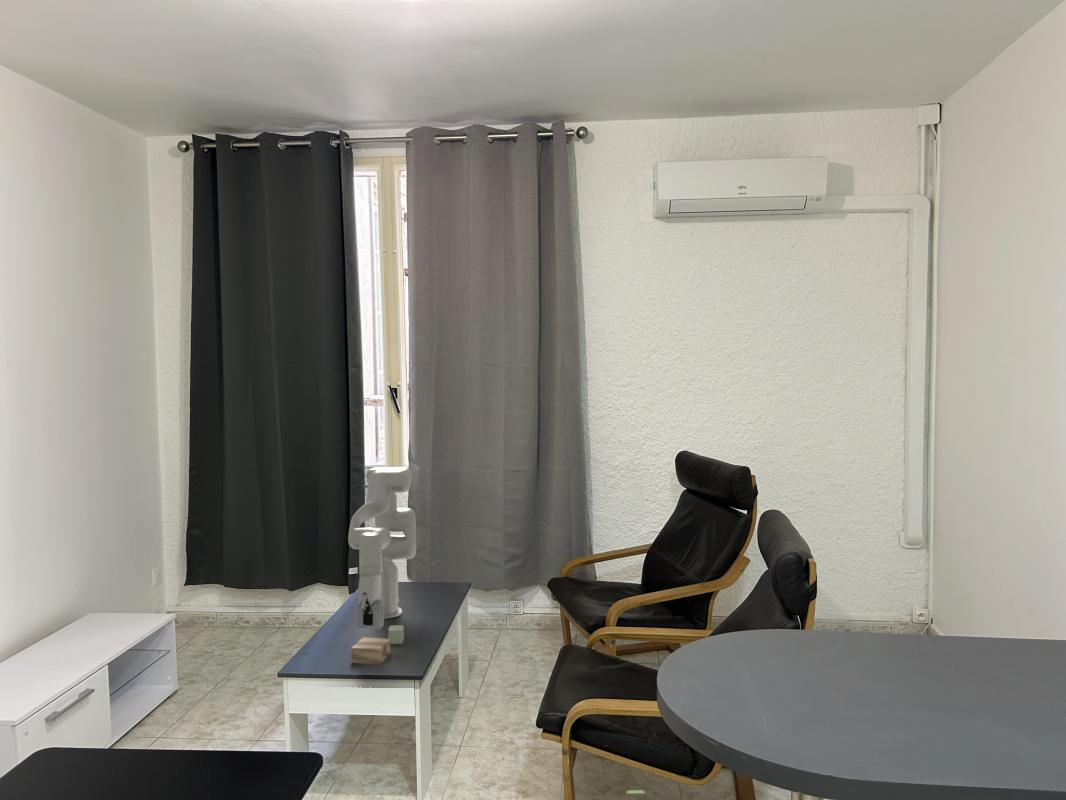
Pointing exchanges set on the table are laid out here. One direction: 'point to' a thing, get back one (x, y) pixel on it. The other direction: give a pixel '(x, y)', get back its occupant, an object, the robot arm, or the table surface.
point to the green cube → (396, 634)
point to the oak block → (370, 650)
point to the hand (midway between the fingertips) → (371, 621)
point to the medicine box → (377, 616)
